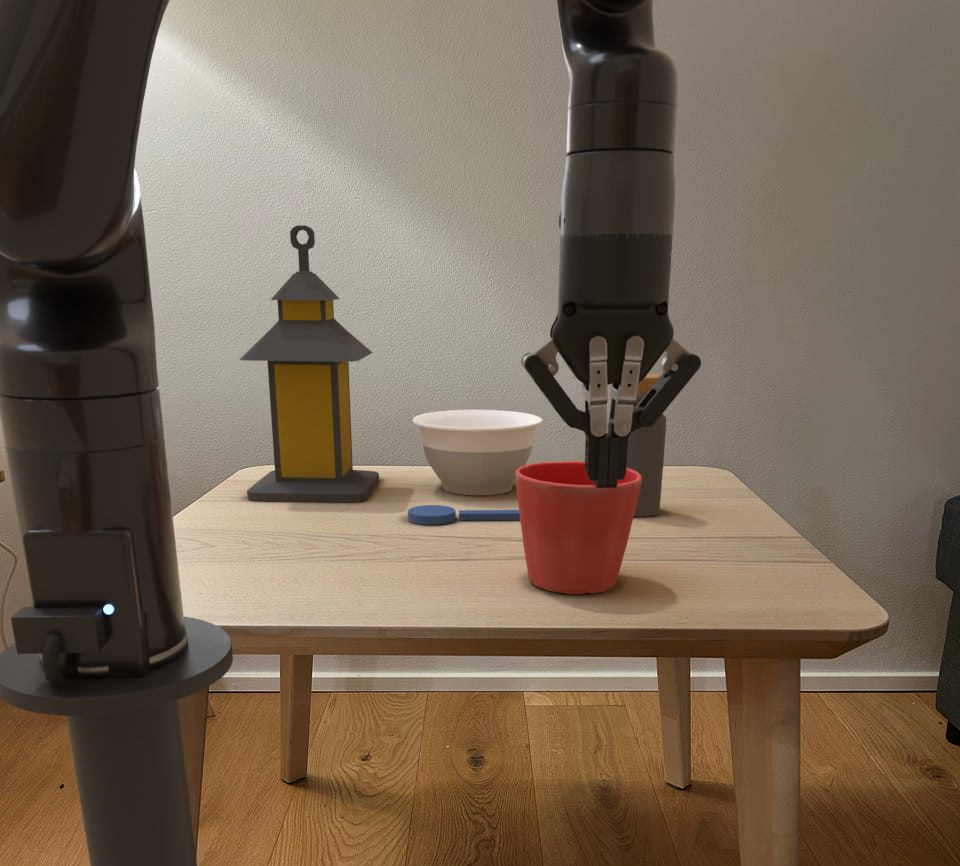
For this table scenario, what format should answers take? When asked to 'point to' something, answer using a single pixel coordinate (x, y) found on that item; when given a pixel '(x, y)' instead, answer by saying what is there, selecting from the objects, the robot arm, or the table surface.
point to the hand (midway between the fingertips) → (604, 485)
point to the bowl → (477, 448)
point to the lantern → (310, 394)
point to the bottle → (647, 456)
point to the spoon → (448, 515)
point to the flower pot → (574, 526)
